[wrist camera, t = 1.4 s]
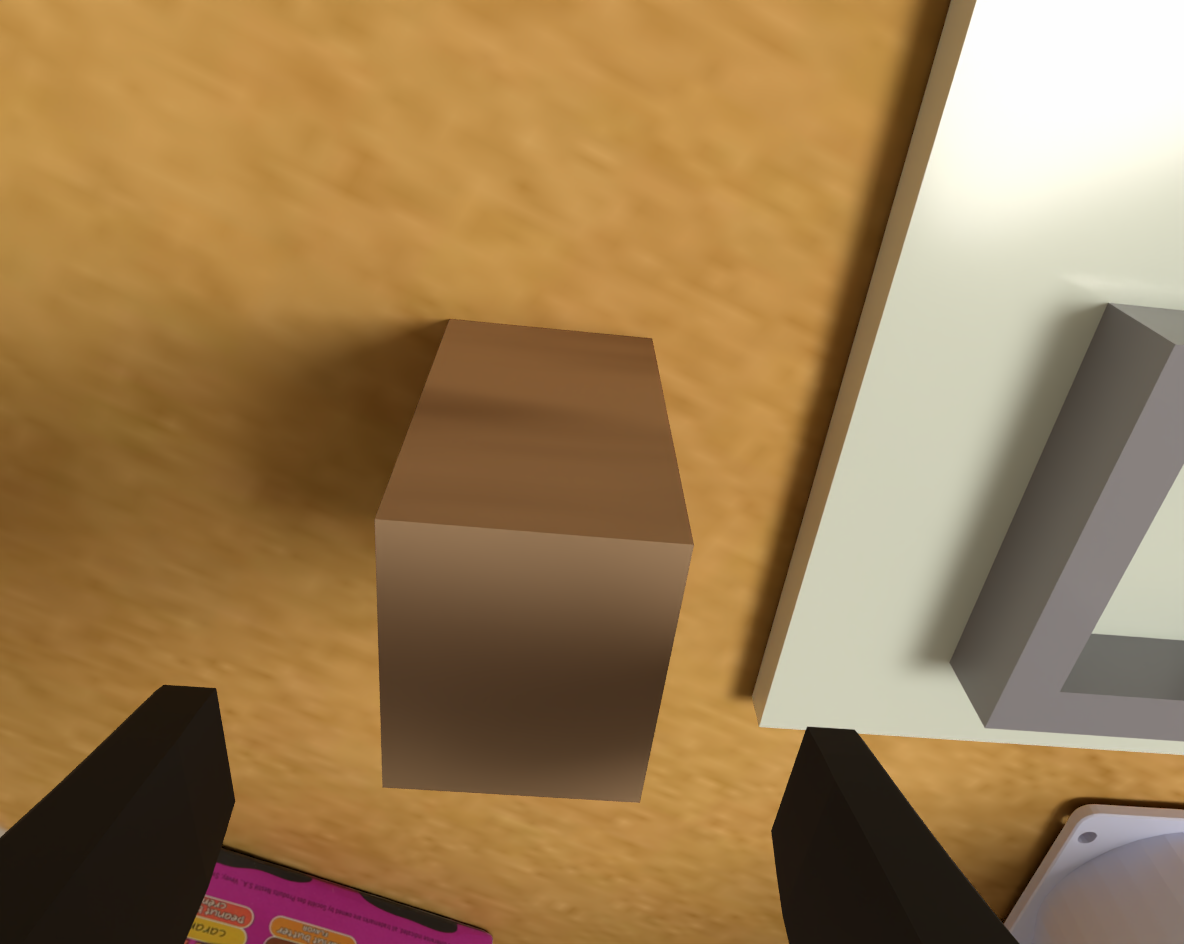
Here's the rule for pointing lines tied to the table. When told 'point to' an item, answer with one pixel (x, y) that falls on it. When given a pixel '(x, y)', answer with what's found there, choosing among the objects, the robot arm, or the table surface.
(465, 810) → the table surface
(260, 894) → the candy bar box
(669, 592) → the brown wooden block
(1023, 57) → the board with square socket
